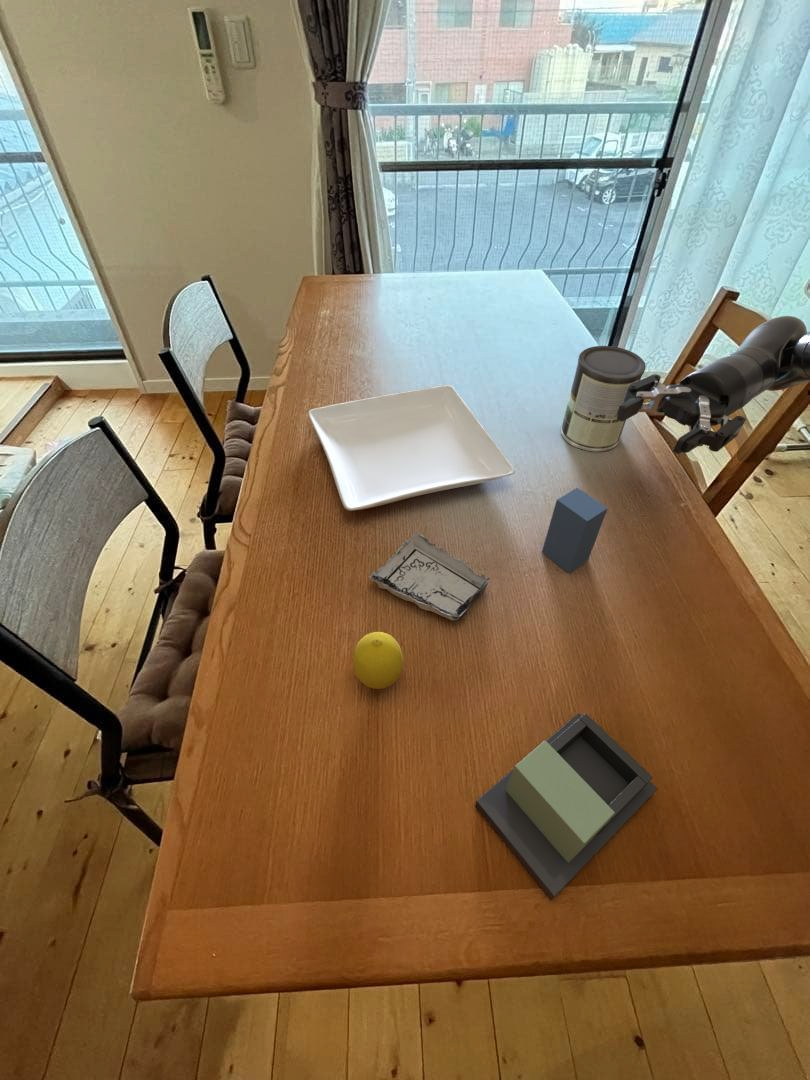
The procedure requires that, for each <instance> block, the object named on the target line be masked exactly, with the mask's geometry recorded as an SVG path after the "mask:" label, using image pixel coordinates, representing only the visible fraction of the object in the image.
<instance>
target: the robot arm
mask: <svg viewBox="0 0 810 1080" xmlns="http://www.w3.org/2000/svg"><path fill="white" fill-rule="evenodd" d="M661 378H662V377H661V375H659V374H656V373H655V374H654V373H653V374H651V375H649V376H646V377H644V378H641V380H639V381H637V382H635V383H632V384H630V385H629V386H628V389H627V392H626V395H625V398H624V401H623V403H621V404H620V407H619V409H618V412H617V415H618V416H617V419H618V420H619V421H621V422H623V421H625V420H626V421H627V420H628V419H630V418H632V417H634V416H636V415H638V413H649V415H650V416H665V417H667V418H669V419H672V420H674V421H676V422H677V423H678V424H680V425H682V426H684V427H685V426H687V427H688V432H687V433H684V434H683V435H681V436H680V437H678V439H677V440H676V443H675V445H674V447H673V450H672V452H673V453H675V454H677V455H680V454H681V453H684V454H686V453H687V454H688V453H690V452H691V451H693V450H694V449H697V447H703V446H707V447H708V450H710V451H711V452H714V453H717V452H719V451H720V450H722V449H723V448H725V447H726V446H727V445H728V444H729V443H730V442H732V441H733V440H734V439H736V438H737V437H738V435H739V433H740V432H741V430H742V428H743V426H744V424H745V423H746V417H745V416H742V415H736V416H734V417H733V418H732V417H729V416H730V415H733V414H734V413H735V412H737V411H739V410H740V409H741V410H742V408H744V407H745V406H746V405H747V404H749V403H750V402H751V401H752V400H753V399H754V398H756V397H758V396H759V395H761V394H762V393H764V392H765V391H769V392H774V391H782V390H786V389H789V388H793V387H795V386H798V385H802V384H805V383H810V331H808V329H807V326H806V324H805V322H804V321H802V319H800V318H798V317H797V316H792V315H782V316H776V317H774V318H771V319H769V320H767V321H765V322H763V323H761V324H760V325H758V326H756V327H755V328H754V329H753V330H752V331H750V333H748V335H747V336H746V337H745V339H744V340H743V341H742V343H740V345H739V347H737V349H736V350H735V352H733V353H731V354H728V355H727V356H723V357H720V358H718V359H716V360H713V361H712V362H710V363H708V364H706V365H704V366H703V367H701V368H698V369H697V370H695V371H692V373H689V374H688V375H686V376H685V377H684V378H682V379H681V380H680V381H679V382H678V383H676V384H669V385H666V384H664V383H662V382H660V380H661ZM646 400H648V401H649V403H647V404H646V403H645V401H646ZM660 403H661V406H660ZM718 425H720V427H719V429H717V431H713V430H712V427H715V426H718Z"/></svg>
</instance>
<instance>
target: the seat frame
mask: <svg viewBox="0 0 810 1080" xmlns="http://www.w3.org/2000/svg"><path fill="white" fill-rule="evenodd" d="M653 778H654V777H653V775H652V774H651V773H649V772H648V771H647V769H645V768H644V767H643V766H642V765H641V764H640V763H639V762H638V761H637V760H636V759H635V758H634V757H633V756H631V755H630V754H629V753H628V752H627V751H626V749H624V748H623V747H622V746H621V745H620V744H619V743H618V742H617V741H616V740H615V739H614V738H613V737H612V736H611V735H609V733H607V732H606V731H605V729H604V728H602V726H600V725H599V724H598V723H597V722H596V721H595V720H594V719H593V718H592V717H591V716H590V715H588V713H586V712H584V713H583V715H581V713H580V712H578V713H576V714H575V715H574V716H573V717H572V718H570V719H569V720H568V721H567V722H566V723H565V724H563V726H561V727H560V728H559V729H558V730H556V731H555V732H554V733H553V734H552V735H551V736H549V737H548V738H547V739H546V740H543V741H542V742H541V743H539V744H538V745H537V746H536V747H535V748H534V749H533V750H531V752H529V753H528V754H527V755H526V756H525V757H523V758H522V759H521V760H520V761H519V762H518V763H516V764H515V765H514V768H512V769H511V770H510V771H509V772H508V773H507V774H505V775H504V776H503V777H502V778H501V779H500V780H498V781H497V782H496V783H495V784H494V785H493V786H492V787H490V788H489V789H488V790H487V791H486V792H485V793H483V794H482V795H481V796H480V797H479V798H477V799H476V800H475V803H474V807H476V809H477V810H478V812H479V813H480V814H481V816H482V817H483V818H484V819H485V821H486V822H487V823H488V824H489V825H490V827H491V828H492V829H493V830H494V831H495V833H496V834H497V835H498V836H499V838H500V839H501V840H502V842H503V843H504V844H505V845H506V846H507V848H508V849H509V850H510V852H511V853H512V854H513V855H514V856H515V858H516V859H517V860H518V861H519V863H520V864H521V865H522V867H524V869H525V870H526V871H527V873H528V874H530V876H531V878H532V879H533V880H534V881H535V883H536V884H537V885H538V886H539V887H540V888H541V890H542V891H543V892H544V894H545V895H546V896H547V897H548V899H549V900H550V901H552V900H553V899H554V898H555V897H557V895H558V894H559V893H560V892H561V891H562V890H563V889H564V888H565V887H566V886H567V885H568V884H569V883H570V882H571V880H572V879H574V878H575V876H576V875H577V874H578V873H579V872H581V870H582V869H583V868H584V867H585V866H586V865H587V864H588V863H589V862H590V861H591V860H592V859H593V858H594V856H595V855H596V854H598V852H599V851H601V849H602V848H603V847H604V846H605V845H606V844H607V843H608V842H609V841H610V840H611V838H613V837H614V836H615V834H617V832H618V831H619V830H621V829H622V827H623V826H624V825H625V824H626V823H627V822H628V821H629V820H630V819H631V818H632V817H633V816H634V815H635V814H636V813H637V812H638V810H639V809H640V808H641V807H642V806H643V805H644V804H645V803H646V802H647V801H649V799H650V798H651V797H652V796H653V795H654V794H655V793H656V792H657V790H658V788H657V786H656V785H655V784H653V782H651V780H652V779H653Z"/></svg>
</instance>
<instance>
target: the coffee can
mask: <svg viewBox="0 0 810 1080" xmlns="http://www.w3.org/2000/svg"><path fill="white" fill-rule="evenodd" d="M646 368H647V366H646V362H645V361H644V359H643V358H642V357H641V356H639V355H638V354H636V353H635V352H633V351H631V350H628V349H625V348H622V347H618V346H612V345H596V346H590V347H587V348H585V349H583V350H582V351H580V353H579V354H578V358H577V365H576V370H575V373H574V376H573V377H574V378H573V381H572V385H571V389H570V393H569V397H568V400H567V405H566V409H565V413H564V417H563V421H562V424H561V427H560V434H561V437H562V439H564V440H565V442H567V443H568V444H570V446H572V447H575V448H577V449H579V450H583V451H586V452H587V451H588V452H592V453H593V452H596V453H598V452H607V451H610V450H612V449H614V448H615V447H617V446H618V445H619V444H620V440H621V436H622V433H623V430H624V428H625V424H626V422H627V419H626V420H625V421H623V422H621V421H619V420H618V419H617V416H618V415H617V412H618V409H619V407H620V404H621V403H623V401H624V398H625V395H626V392H627V389H628V386H629V385H630V384H632V383H635V382H637V381H639V380H642V377H643V375H644V373H645V372H646Z"/></svg>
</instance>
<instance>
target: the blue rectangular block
mask: <svg viewBox="0 0 810 1080" xmlns="http://www.w3.org/2000/svg"><path fill="white" fill-rule="evenodd" d="M608 509H609V508H608V506H606V505H604V504H602V503H601V502H600V501H598V500H596V499H595V498H593V496H591V495H589V494H588V493H587V492H585V491H584V490H582V489H581V488H579V487H575V488H574V489H572V490H570V491H569V492H567V493H565V494H564V495H562V496H560V497H559V498H557V499H556V501H555V505H554V508H553V512H552V515H551V518H550V521H549V525H548V529H547V533H546V536H545V540H544V543H543V547H542V550H541V553H542V554H543V555H545V556H546V557H547V558H548V559H549V560H550V561H552V562H553V563H554V564H556V565H557V566H559V567H560V568H561V569H562V570H564V571H565V572H566V573H567V574H571V573H573V572H574V571H575V570H577V569H578V568H580V567H581V566H583V565H584V564H585V563H587V562H588V561H589V559H590V556H591V555H592V551H593V548H594V546H595V543H596V541H597V538H598V535H599V533H600V530H601V527H602V525H603V522H604V520H605V517H606V515H607V512H608Z"/></svg>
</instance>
